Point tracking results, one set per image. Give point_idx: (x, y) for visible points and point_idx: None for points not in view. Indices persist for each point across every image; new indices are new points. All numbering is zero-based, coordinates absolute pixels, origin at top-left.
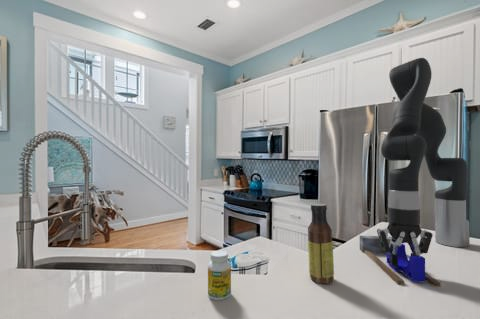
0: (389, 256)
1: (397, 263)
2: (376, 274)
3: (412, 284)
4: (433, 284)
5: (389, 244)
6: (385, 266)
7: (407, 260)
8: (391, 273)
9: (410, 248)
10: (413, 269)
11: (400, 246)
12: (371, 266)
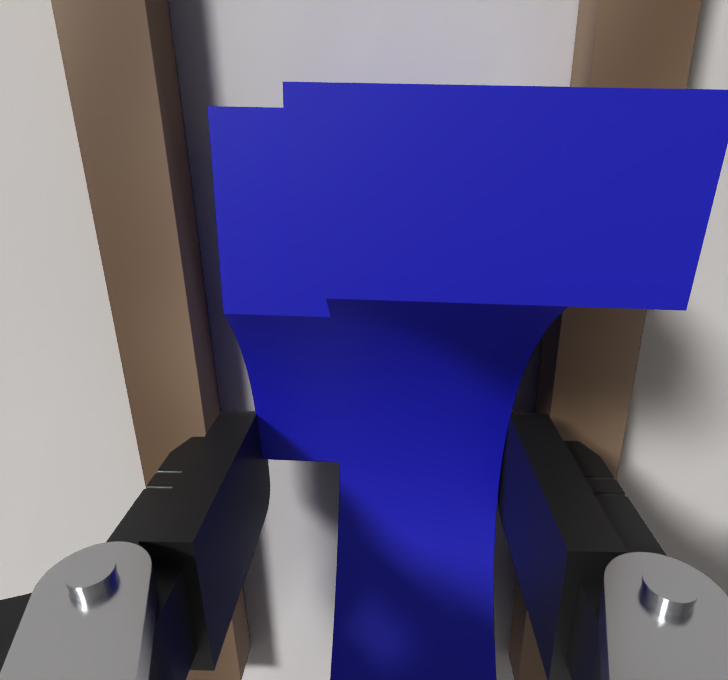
0: (132, 507)
1: (249, 549)
2: (48, 477)
3: (330, 633)
4: (511, 661)
5: None
6: (161, 370)
7: (507, 365)
8: None
9: (609, 637)
10: None
11: (503, 298)
12: (23, 249)
